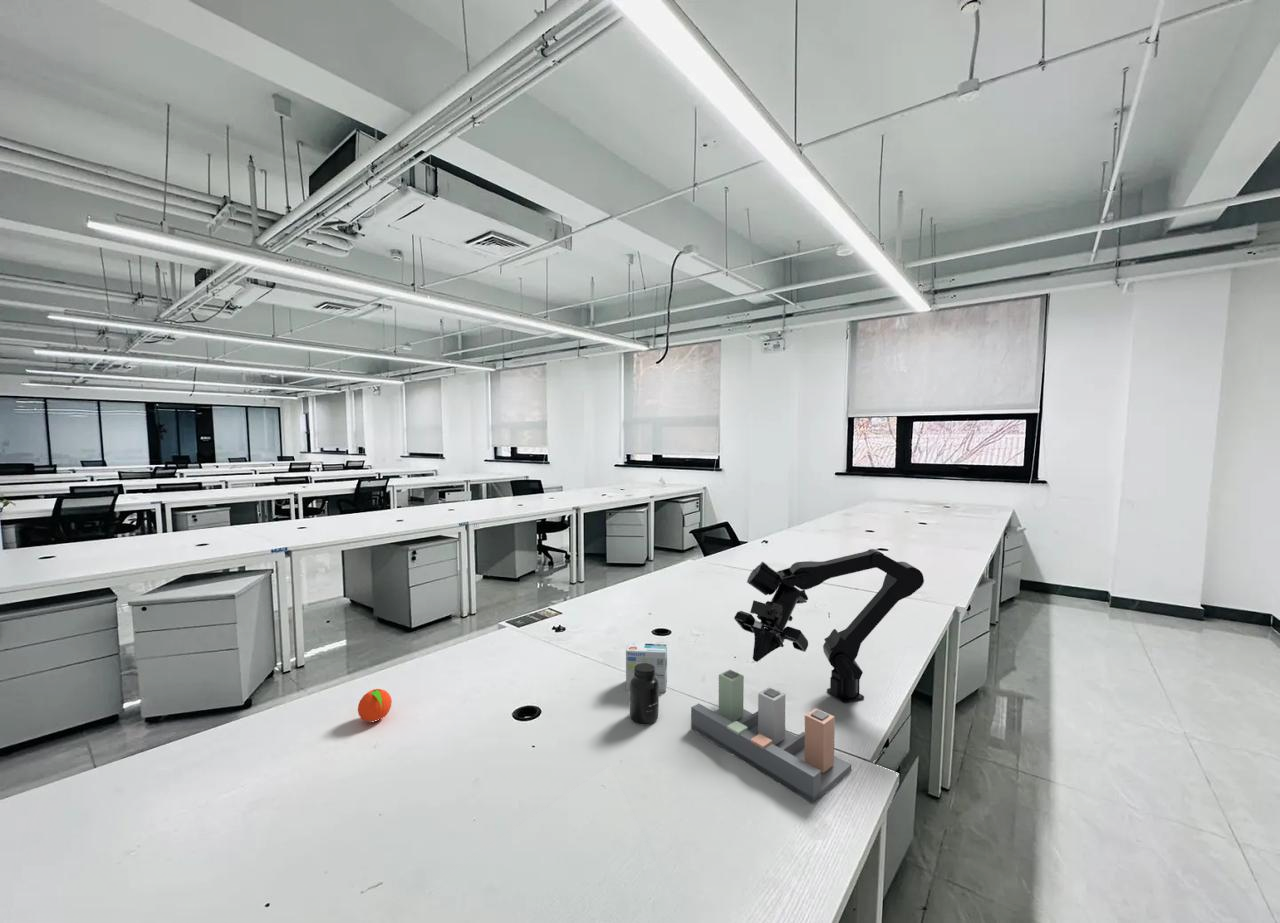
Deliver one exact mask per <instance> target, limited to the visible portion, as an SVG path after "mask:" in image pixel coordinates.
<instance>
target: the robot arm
mask: <svg viewBox="0 0 1280 923" xmlns="http://www.w3.org/2000/svg"><path fill="white" fill-rule="evenodd" d="M875 568H877V569H879V570H880V571H882V572H884V573H886V574H885V576H884V579H883V582H882V586H881V588H880V589H879V590H878V591H877V593H876V594H875V595H874V596H873V597H872V598H871V599H870V601H869V602H868V603H867V604H866V605H865V606H864V608H863V609H862V610H860V612H859V613H858V614H857V615H856V617H855V618H854V619H853V620H852V621H851V622H850V624H849V625H848V626H847V627H846V628H844V629H842V630H841V631H839V632H838V630H837V629H836V628H833V630H831V633H830V634H829V635H828V636H827V637H825V638H824V639H823V640H824V643H823V645H822V648H823V653H824V656H825V657H826V659H827V661H828V662H829V664H830V666H831V667H832V668H833V669H831V671H830V672H831V676H830V683H829V684H830V685H829V688H826V692H827V693H829V694H830V695H831V696H833V697H835V698H837V699H838V700H839V701H841V702H842V703H850V702H855V701H860V700H863V699H865V696H864V695H863V694H861V693H860V680H861V678H862V676H863V673H864V672H863V670H862V669H861V668H860V665H859V664H858V662H856V659H857V656H858V655H859V651H860V649H861V645H862V643H863V642H864V641H865V639H867V638H868V636H869V635H870V634H871V633H872V632H873V630H874V629H875V628H876V627H877V626H878V625H879V624H880V623H881V622H882V620H883V619H884V618H885V617H886V616H887V614H888V613H889V612H890V611H891V610H892V609H893V608H894V607H895V605H896V604H897V603H898V602H900V601H901V600H903V599H905V598H908V597H910V596H912V595H913V594H915V593H916V592H918V590H919V589H921V588H922V586H923V585H924V583H925V579H924V574H923V572H922V571H921V570H920V569H918V568H917V567H915V566H914V565H911V564H910V563H908V562H907V561H896V560H894V559H892V558H891V557H889V556H887V555H885V554H884V553H882V552H881V551H879V550H878V549H875V548H869V549H868V550H866V551H861V552H857V553H854V554H848V555H845V556H840V557H837V558H833V559H828V560H823V561H813V560H812V561H811V560H810V561H795V562H794V563H793V564H791V566H790V567H787V568H784V569H781V570H777V571H776V570H774V569H773V568H772V567H771V566H769V565H768V564H767V563H765V562H764V561H761V562H760V564H759V565H757V566H756V567H755V568H753V569H752V571H751V572H750V574H749V576H748V577H747V581H746V583H747V584H749V586H752V587H753V588H755V589H756V590H757V591H758V592H760V593H761V594H763V595H765V596H768V595H769V596H772V595H773V597H772V598H771V599H770V601H769V600H767V601H765V603H764V602H762V601H757V600H754V599H753V601H752V605H751V609H750V611H749V612H750V613H749V612H746V611H742V610H740V611H737V612H736V613H735V616H734V617H733V619H734V620H735V622H736V623H737V624H738V625H739V626H740V627H741V629H742V630H744V631H745V632H749V633H751V634H753V635H754V644H753V652H752V660H753V661H754V662H756V663H758V662H759V661H761V660H762V659H763V658H765V657H766V656H767V655H769V654H770V653H771V652H773V651H775V650H776V649H778V648H784V647H785V645H784V642H785V640H786V641H789V642H792V646H793V648H794V649H795V650H798V651H801V652H803V653H805V652H806V651H807V649H808V647H809V641H808V639H807V637H806V636H805V634H804V633H803V631H801V630H800V629H798V628H795V627H792V626H787V624H788V622H792V621H793V618H794V617H793V616H792V615H793V612H794V609H795V607H796V606H797V604H798V601H799V602H800V603H802V602H805V601H808V600H809V597H808V595H807V594H806V590H810V589H812V588H816V587H817V586H819V585H821V584H823V583H824V582H825V581H827V580H830V579H833V578H836V577H840V576H841V577H842V576H845V575H849V574H854V573H859V572H862V571H868V570H872V569H875ZM754 614H755V615H757V616H756V617H757V619H758V620H756V618H755V617H754V616H753V615H754ZM759 620H760V621H759Z"/></svg>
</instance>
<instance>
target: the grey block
mask: <svg viewBox="0 0 1280 923" xmlns="http://www.w3.org/2000/svg"><path fill="white" fill-rule="evenodd" d="M757 695H758V696H757V697H758V699H757V700H758V702H757V703H758V704H757V711H758V734H761V735H763V736H765V737H767V738H769V739H771V740H772V744H773V745H776V744H777V743H779V742H780V741H782V740H783V739H785V731H786V693H783V692H780V691H779V690H776V689H775V688H772V687H771V686H768V688H766V689H763V690H762V691H760V692H758V694H757Z"/></svg>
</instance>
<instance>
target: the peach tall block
mask: <svg viewBox="0 0 1280 923" xmlns="http://www.w3.org/2000/svg"><path fill="white" fill-rule="evenodd" d="M835 719H836V718H835V716H834V715H832V714H830V713H827V712H825V711H823V710H821V709H819V708H817V707H815V708H814V709H812V710H811V711H809V712H808V713H806V714H805V715H804V732H805V756H804V762H806V763H808V764H810V765H811V766H813V767H815V768H817V769H819V770H821V772H822V773H824V772H825V771H827V770H828V769H829V768H830V767H831V766H833V765H834V756H835V725H836V724H835V723H836V721H835Z"/></svg>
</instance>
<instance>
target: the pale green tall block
mask: <svg viewBox="0 0 1280 923" xmlns="http://www.w3.org/2000/svg"><path fill="white" fill-rule="evenodd" d="M744 677H745V676H744V675H743V674H741V673H739V672H736V671H734V670H732V669H727V670H726V671H724V672H722V673H719V674H718V709H719V715H721V716H723V717H725V718H726V719H728V720H730V721H732V722H734V721H736V720H738V719H739V718H741V717H743V709H744V695H745V694H744V688H745V687H744V686H745V684H744V680H745V679H744Z"/></svg>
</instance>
